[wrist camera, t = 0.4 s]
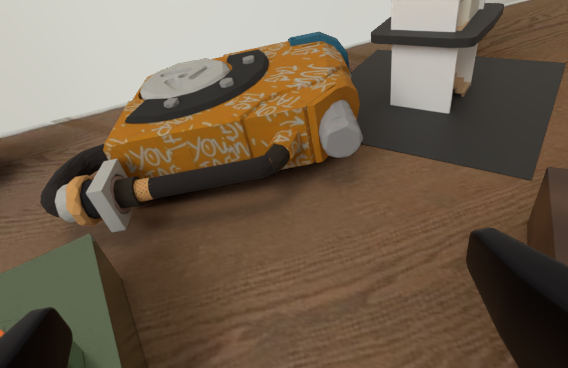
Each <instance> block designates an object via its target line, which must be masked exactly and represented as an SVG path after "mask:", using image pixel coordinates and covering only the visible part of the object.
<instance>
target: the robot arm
mask: <svg viewBox="0 0 568 368" xmlns="http://www.w3.org/2000/svg"><path fill="white" fill-rule="evenodd" d="M466 263H467V267H468V270H469V272H470V274H471V276H472V278H473V280H474V282H475V285H476V287H477V289H478V291H479V293H480V295H481V297H482V299H483V302H484V304H485V306H486V308H487V310H488V312H489V314H490V316H491V319H492V321H493V323H494V325H495V327H496V329H497V331H498V333H499V335H500V337H501V338H502V340H503V342H504V344H505V345H506V347H507V349H508V350H509V352H510V354H511V355H512V357H513V359H514V360H515V362H516V363H517V365H518V367H519V368H568V265H566V264H564V263H562V262H560V261H558V260H556V259H554V258H552V257H550V256H548V255H546V254H544V253H542V252H540V251H538V250H536V249H534V248H532V247H530V246H528V245H526V244H524V243H522V242H520V241H518V240H516V239H514V238H512V237H510V236H508V235H506V234H504V233H502V232H500V231H498V230H496V229H494V228H485V229H479V230H474V231H472V232H471V234H470V237H469V243H468V250H467V256H466ZM72 341H73V335H72V331H71V329H70V327H69V326H68V325H67V323H66V322H65V321H64V319H63V318H62V317H61V315H60V314H59V313H58V311H57V310H56V309H54V308H52V307H47V308H41V309H36V310H32V311H30V312H29V313H27V314H26V315H25V316H24V317H23V318H22V319H21V320H19V321H18V322H17V323H16V324H15V325H14V326H12V327H11V328H10V329H9V330H8V331H7V332H6V333H4V334H3V335H2V336H1V337H0V368H67V367H68V361H69V356H70V351H71V346H72Z"/></svg>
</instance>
